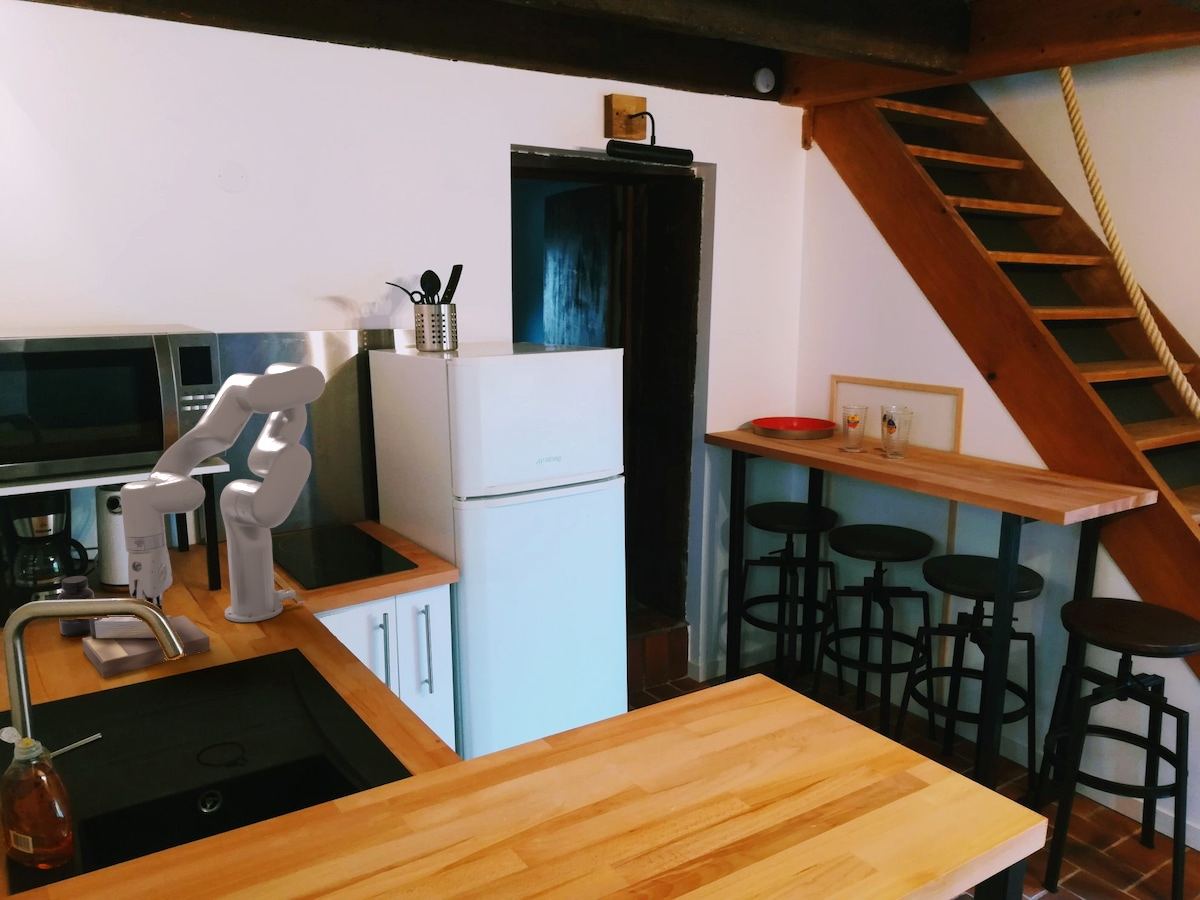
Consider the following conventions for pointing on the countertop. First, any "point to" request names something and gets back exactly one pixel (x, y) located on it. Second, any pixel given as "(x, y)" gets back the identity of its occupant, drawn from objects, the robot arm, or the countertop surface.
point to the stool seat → (141, 649)
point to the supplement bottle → (75, 590)
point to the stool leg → (121, 628)
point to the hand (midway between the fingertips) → (154, 624)
